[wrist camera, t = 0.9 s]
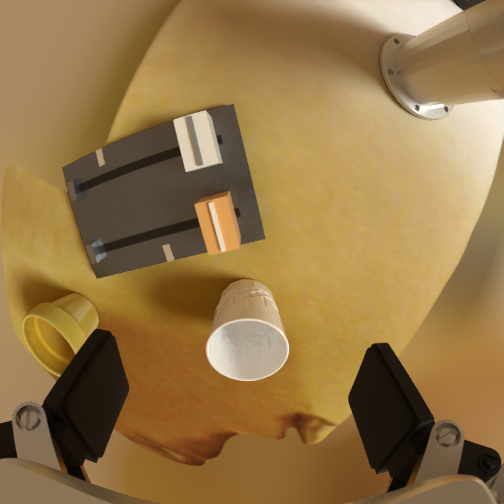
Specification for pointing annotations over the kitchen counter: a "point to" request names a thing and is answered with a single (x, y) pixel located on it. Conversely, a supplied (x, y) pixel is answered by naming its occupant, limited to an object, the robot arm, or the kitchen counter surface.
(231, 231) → the block
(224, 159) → the console board
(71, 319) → the plant pot
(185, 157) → the fader
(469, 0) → the supplement bottle
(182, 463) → the kitchen counter surface
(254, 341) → the white cup
